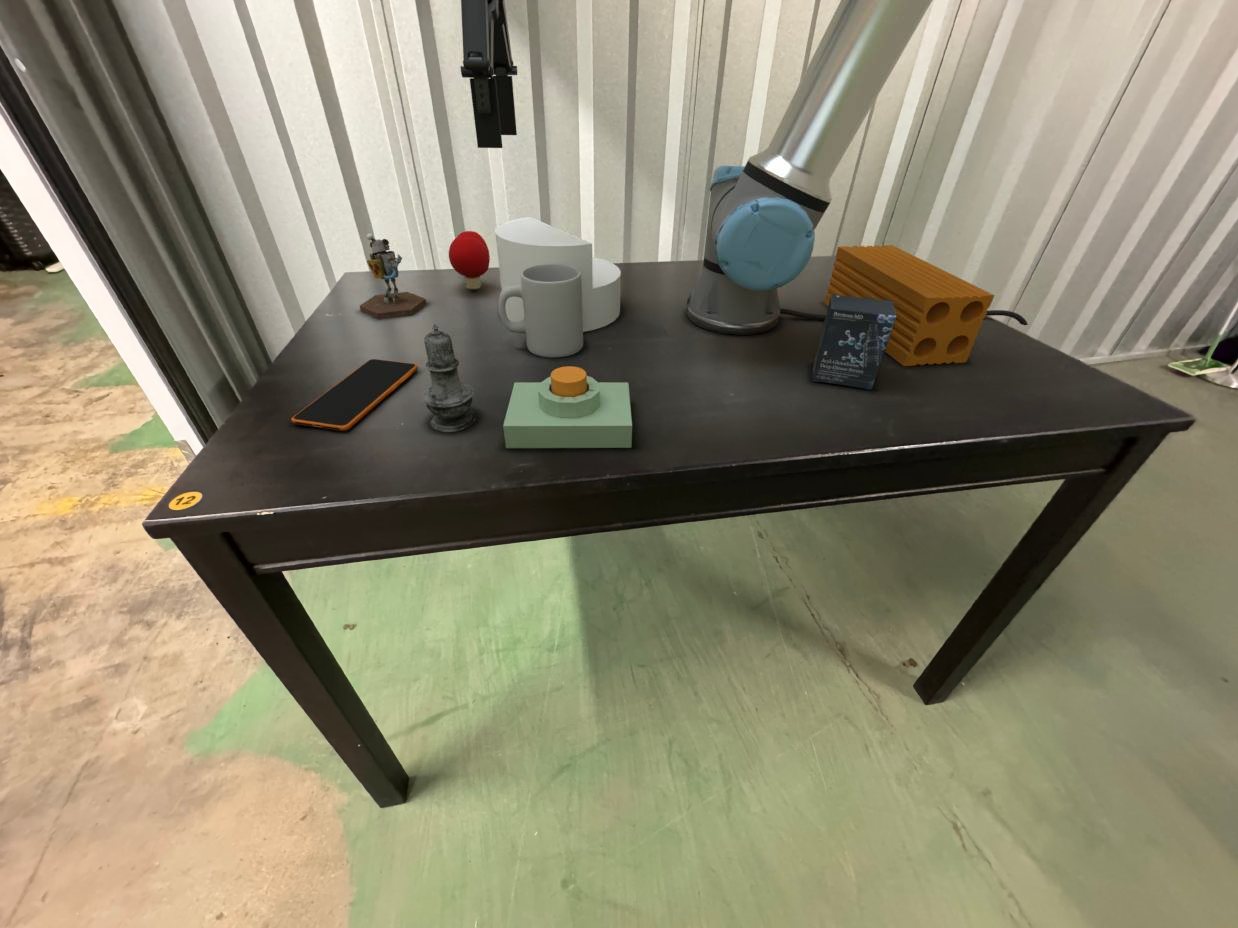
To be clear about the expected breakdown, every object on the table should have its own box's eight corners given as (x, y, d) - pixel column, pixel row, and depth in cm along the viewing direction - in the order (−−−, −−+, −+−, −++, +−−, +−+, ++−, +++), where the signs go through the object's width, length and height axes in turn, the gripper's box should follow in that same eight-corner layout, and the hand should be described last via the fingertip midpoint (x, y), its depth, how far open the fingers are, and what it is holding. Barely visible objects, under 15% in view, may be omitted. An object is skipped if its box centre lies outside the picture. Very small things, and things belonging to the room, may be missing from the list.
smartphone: (290, 424, 64) (287, 418, 64) (372, 363, 77) (370, 358, 77) (347, 433, 63) (345, 426, 62) (421, 369, 76) (419, 363, 75)
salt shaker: (465, 436, 63) (448, 337, 56) (418, 430, 64) (395, 332, 57) (486, 410, 68) (471, 316, 61) (441, 405, 69) (422, 312, 61)
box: (811, 382, 75) (830, 307, 69) (812, 365, 79) (830, 292, 73) (872, 391, 73) (897, 315, 67) (870, 373, 77) (893, 299, 71)
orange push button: (587, 382, 64) (586, 366, 63) (586, 399, 61) (586, 382, 60) (552, 382, 64) (551, 366, 63) (550, 399, 61) (549, 382, 60)
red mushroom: (487, 299, 99) (480, 241, 93) (449, 299, 99) (439, 240, 93) (497, 283, 106) (491, 228, 100) (461, 282, 106) (453, 227, 100)
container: (643, 317, 93) (646, 234, 85) (537, 343, 84) (530, 253, 76) (581, 284, 106) (580, 210, 98) (485, 304, 97) (474, 223, 89)
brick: (966, 362, 81) (994, 295, 75) (903, 366, 79) (927, 298, 74) (875, 301, 101) (891, 245, 95) (824, 303, 100) (838, 246, 94)
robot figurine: (436, 308, 95) (423, 235, 88) (389, 323, 89) (370, 247, 82) (399, 293, 101) (384, 224, 94) (352, 307, 95) (332, 234, 88)
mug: (578, 333, 87) (576, 262, 81) (587, 355, 81) (586, 280, 74) (502, 338, 85) (493, 266, 79) (504, 362, 79) (495, 285, 72)
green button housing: (627, 403, 70) (628, 367, 67) (631, 448, 62) (632, 409, 59) (516, 403, 69) (512, 367, 66) (505, 448, 61) (500, 409, 58)
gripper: (493, -133, 46) (517, 155, 59) (525, -74, 66) (538, 131, 79) (402, -136, 46) (446, 154, 58) (462, -76, 66) (485, 130, 79)
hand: (499, 141), depth 69 cm, fingers open, 13 cm apart
